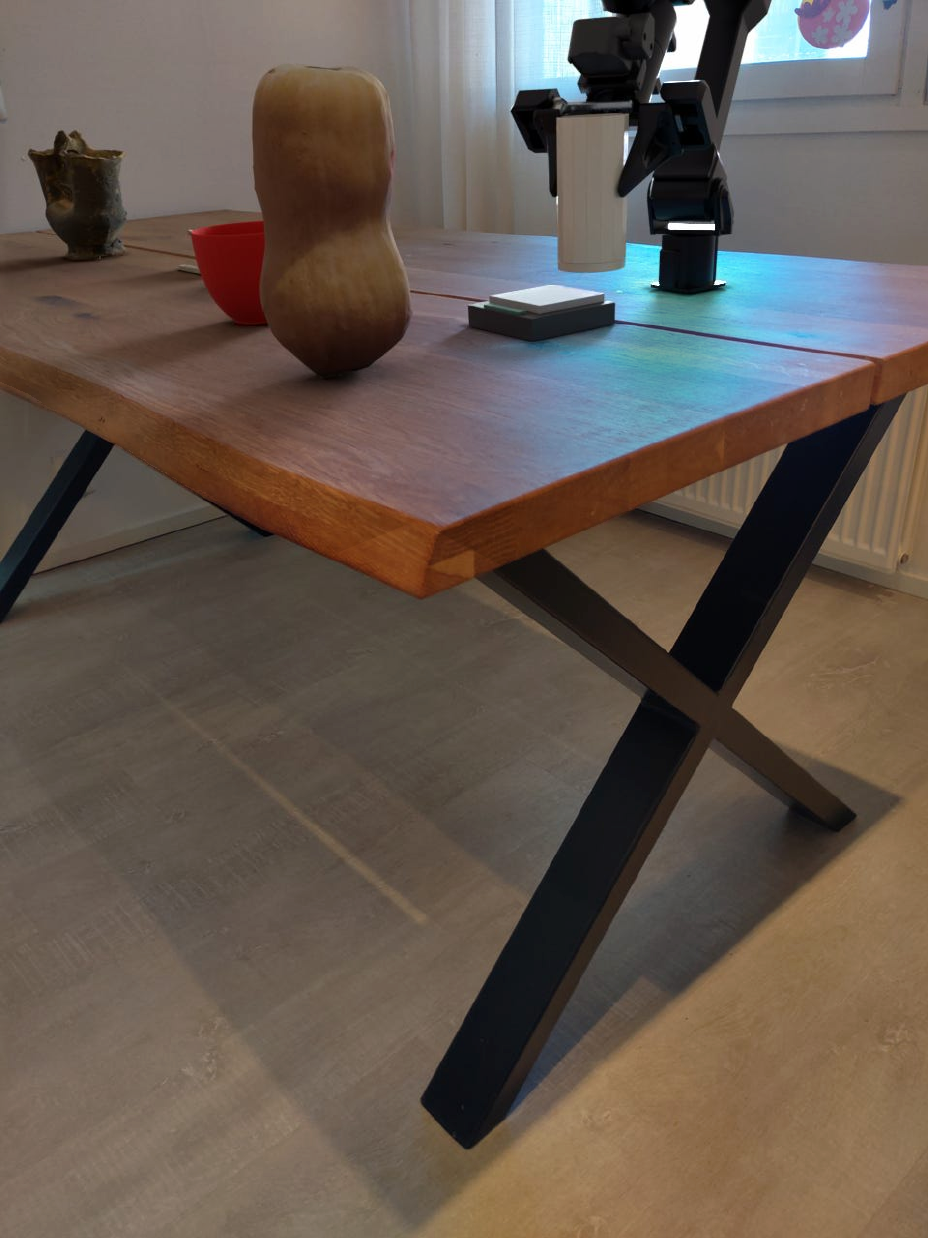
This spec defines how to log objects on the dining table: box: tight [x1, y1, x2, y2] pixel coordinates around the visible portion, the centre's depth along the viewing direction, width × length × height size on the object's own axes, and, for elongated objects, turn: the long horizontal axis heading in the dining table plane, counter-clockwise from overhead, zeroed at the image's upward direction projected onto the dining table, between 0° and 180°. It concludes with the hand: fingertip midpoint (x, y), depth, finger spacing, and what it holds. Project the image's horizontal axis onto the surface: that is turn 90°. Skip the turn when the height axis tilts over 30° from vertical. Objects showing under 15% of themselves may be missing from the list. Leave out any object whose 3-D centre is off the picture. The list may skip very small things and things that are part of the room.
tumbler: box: [556, 113, 630, 274], centre depth 93 cm, size 6×6×13 cm
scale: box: [467, 284, 616, 342], centre depth 106 cm, size 11×11×3 cm
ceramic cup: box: [190, 220, 268, 326], centre depth 116 cm, size 13×17×10 cm
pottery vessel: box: [27, 129, 128, 261], centre depth 170 cm, size 25×11×20 cm, turn 40°
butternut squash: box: [251, 63, 413, 379], centre depth 87 cm, size 14×13×25 cm
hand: (585, 194), depth 92 cm, fingers closed on tumbler, 6 cm apart
